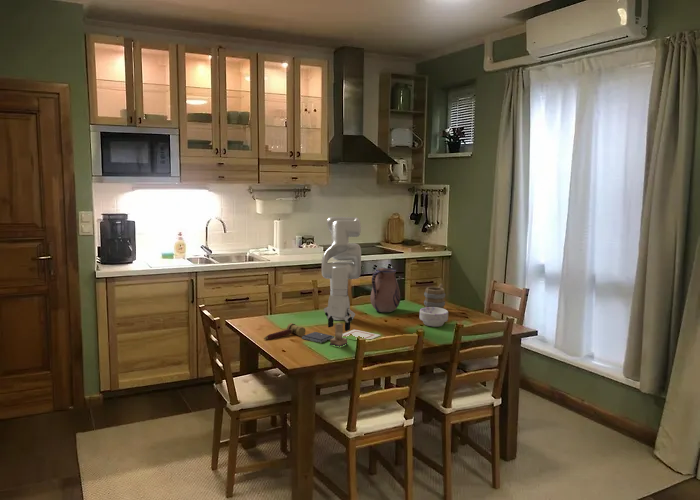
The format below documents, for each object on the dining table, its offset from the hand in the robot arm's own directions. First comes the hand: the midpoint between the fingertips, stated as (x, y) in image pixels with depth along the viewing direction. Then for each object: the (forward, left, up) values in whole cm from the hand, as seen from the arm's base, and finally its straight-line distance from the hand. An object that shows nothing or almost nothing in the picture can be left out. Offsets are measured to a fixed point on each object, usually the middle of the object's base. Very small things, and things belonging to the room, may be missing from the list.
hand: (338, 328), depth 264 cm
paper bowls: (+18, +61, -8) cm, 64 cm away
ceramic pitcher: (-18, +68, -8) cm, 71 cm away
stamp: (0, 0, -8) cm, 8 cm away
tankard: (+5, +90, -8) cm, 91 cm away
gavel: (-30, -5, -9) cm, 32 cm away
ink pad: (-14, +2, -8) cm, 17 cm away
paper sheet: (-1, +18, -8) cm, 20 cm away
